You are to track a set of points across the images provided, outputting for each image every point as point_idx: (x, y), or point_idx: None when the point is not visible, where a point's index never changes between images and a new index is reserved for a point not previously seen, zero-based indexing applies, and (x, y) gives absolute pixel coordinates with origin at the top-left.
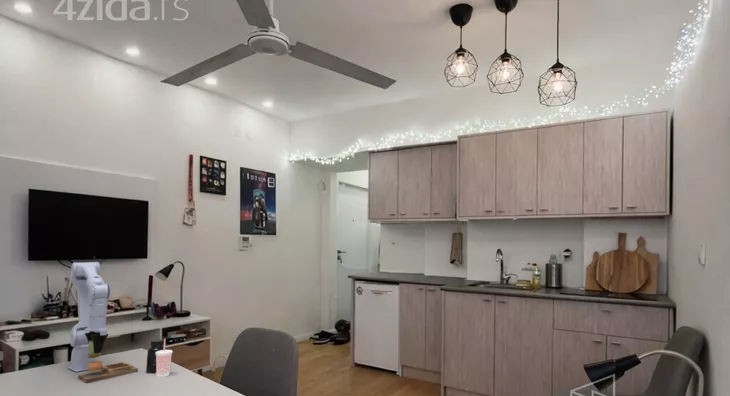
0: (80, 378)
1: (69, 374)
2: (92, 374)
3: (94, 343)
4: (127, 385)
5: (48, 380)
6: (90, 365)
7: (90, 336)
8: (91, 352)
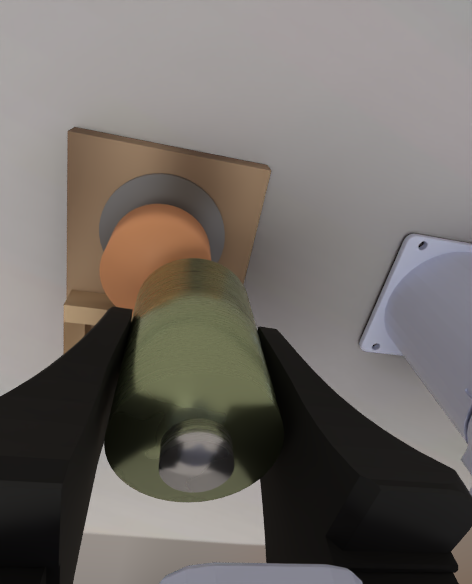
0: (216, 156)
1: (413, 187)
2: None
3: (37, 375)
4: None
5: (437, 5)
6: (137, 222)
7: (315, 480)
8: (157, 296)
